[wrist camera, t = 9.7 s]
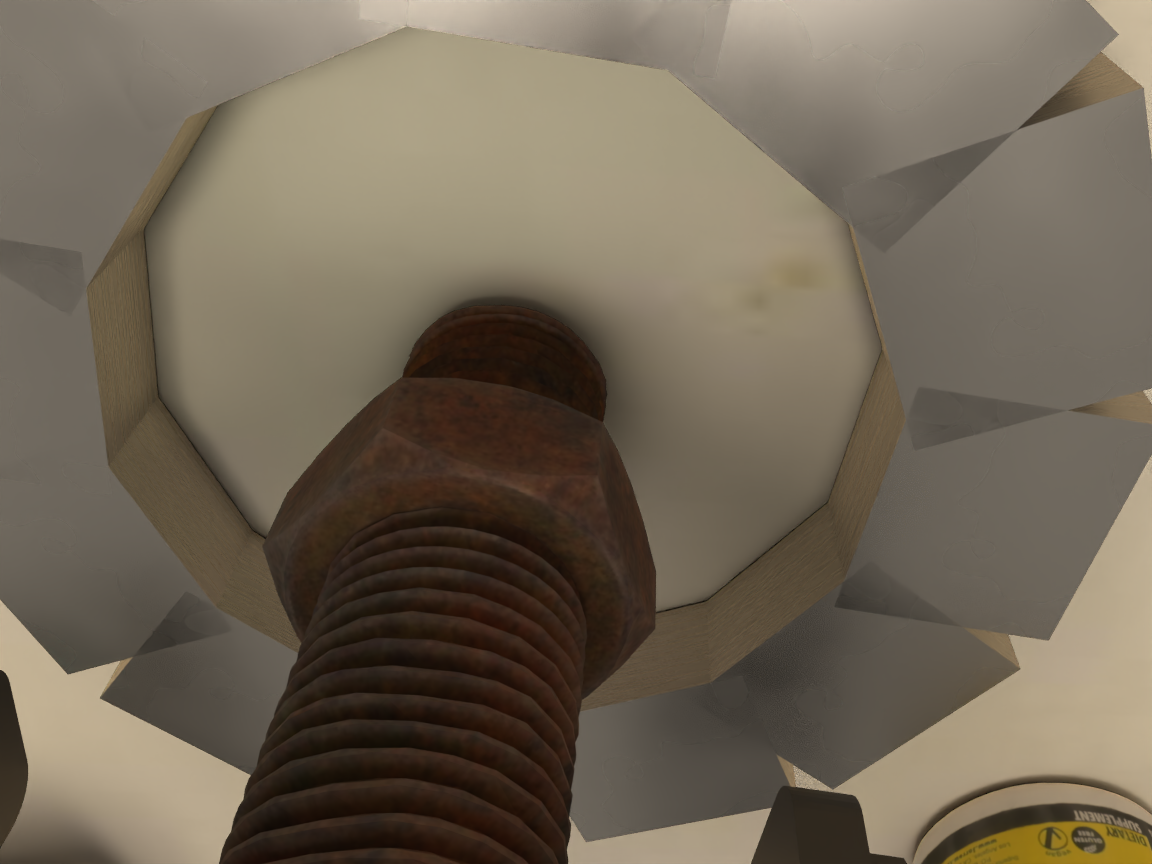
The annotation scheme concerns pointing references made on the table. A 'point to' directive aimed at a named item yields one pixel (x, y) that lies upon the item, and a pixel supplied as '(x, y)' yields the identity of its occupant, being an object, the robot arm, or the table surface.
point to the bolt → (450, 608)
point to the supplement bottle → (1041, 828)
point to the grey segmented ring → (787, 571)
